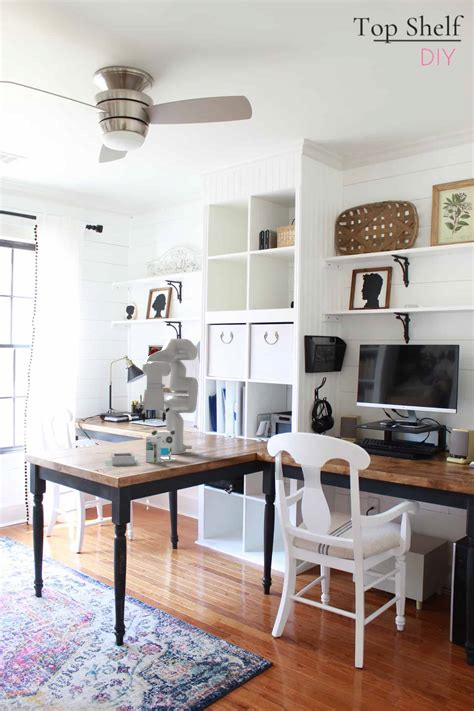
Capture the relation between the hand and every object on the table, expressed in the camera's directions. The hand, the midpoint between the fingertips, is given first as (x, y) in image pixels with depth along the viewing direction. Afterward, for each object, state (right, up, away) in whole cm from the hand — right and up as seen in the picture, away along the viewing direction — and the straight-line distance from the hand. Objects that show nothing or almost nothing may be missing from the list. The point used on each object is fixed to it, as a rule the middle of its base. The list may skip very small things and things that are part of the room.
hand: (153, 421), depth 296 cm
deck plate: (-14, -21, -4) cm, 26 cm away
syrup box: (0, -22, +1) cm, 22 cm away
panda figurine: (+3, -22, +16) cm, 27 cm away
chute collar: (-14, -20, -4) cm, 25 cm away
